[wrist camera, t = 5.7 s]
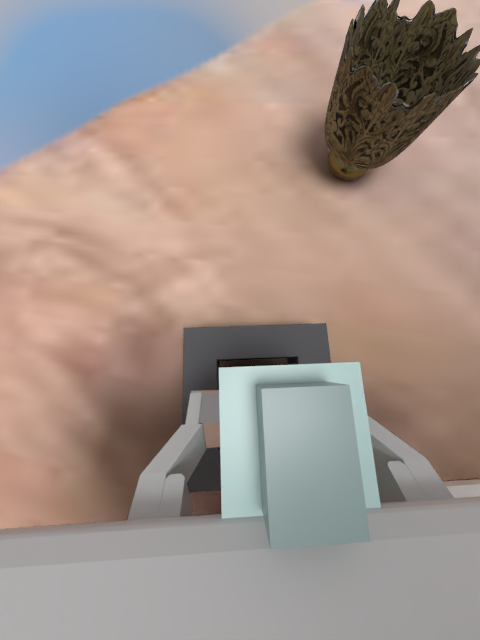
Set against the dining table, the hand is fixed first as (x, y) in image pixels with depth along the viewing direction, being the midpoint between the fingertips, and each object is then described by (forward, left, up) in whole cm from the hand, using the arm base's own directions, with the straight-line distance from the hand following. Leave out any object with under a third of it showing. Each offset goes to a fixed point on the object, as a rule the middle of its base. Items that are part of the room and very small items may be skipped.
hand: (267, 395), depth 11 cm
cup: (-9, -18, -6) cm, 21 cm away
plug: (0, +1, -5) cm, 5 cm away
